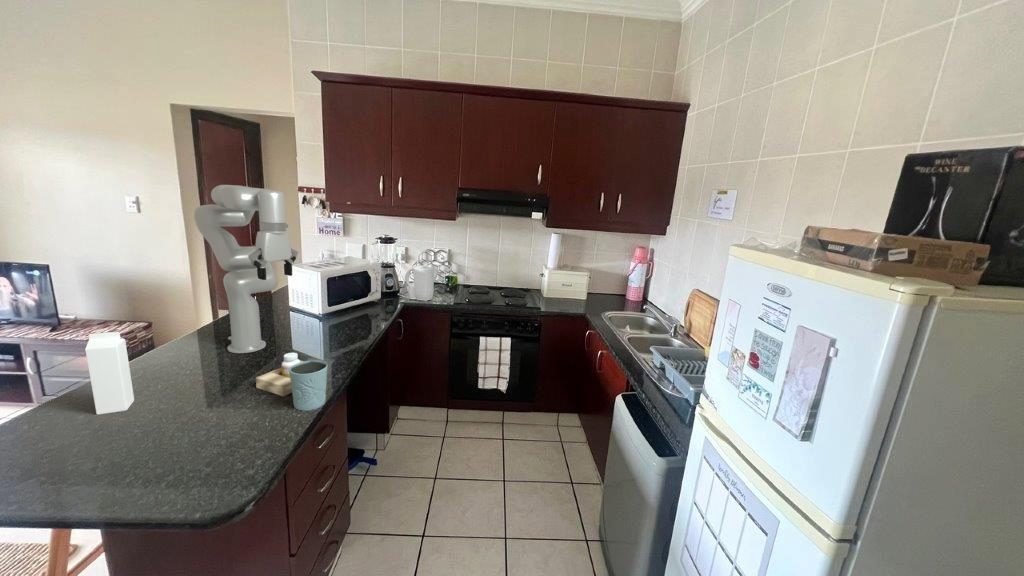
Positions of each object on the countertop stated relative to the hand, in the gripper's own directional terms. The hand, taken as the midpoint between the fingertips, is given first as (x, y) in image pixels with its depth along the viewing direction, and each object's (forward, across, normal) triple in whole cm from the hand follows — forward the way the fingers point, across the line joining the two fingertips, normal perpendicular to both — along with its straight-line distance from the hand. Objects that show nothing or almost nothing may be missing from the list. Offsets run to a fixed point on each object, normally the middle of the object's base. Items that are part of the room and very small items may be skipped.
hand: (275, 277), depth 131 cm
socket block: (+33, +7, +14) cm, 37 cm away
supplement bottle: (+33, +7, +14) cm, 37 cm away
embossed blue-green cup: (+33, +14, +30) cm, 47 cm away
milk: (+33, +40, -13) cm, 54 cm away
